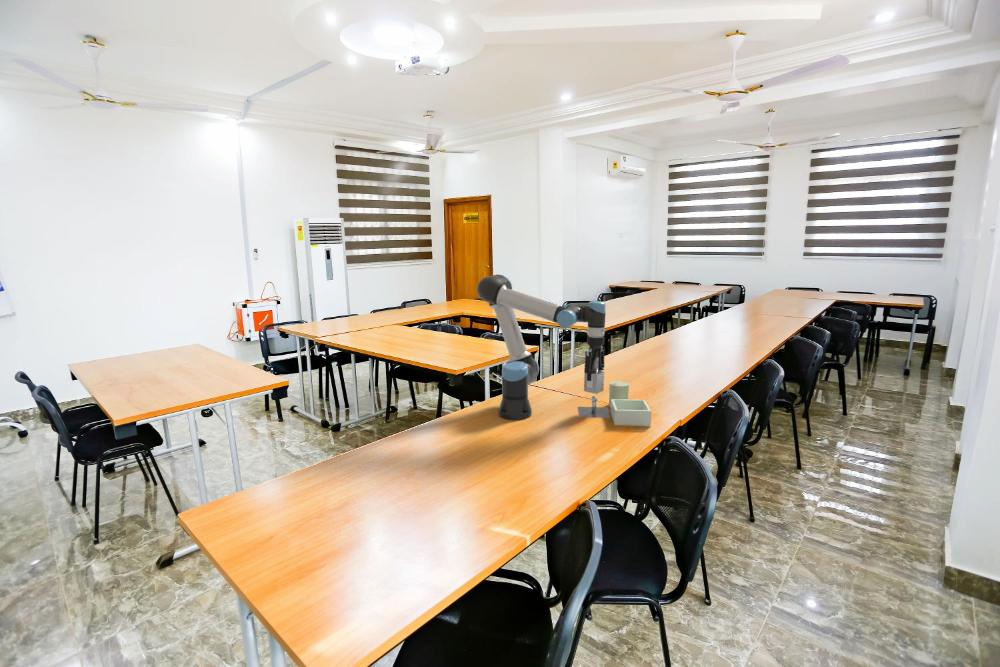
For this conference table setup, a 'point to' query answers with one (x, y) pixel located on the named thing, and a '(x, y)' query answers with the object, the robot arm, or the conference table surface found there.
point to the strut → (595, 380)
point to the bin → (630, 412)
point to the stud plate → (594, 415)
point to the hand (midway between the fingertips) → (593, 385)
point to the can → (618, 390)
